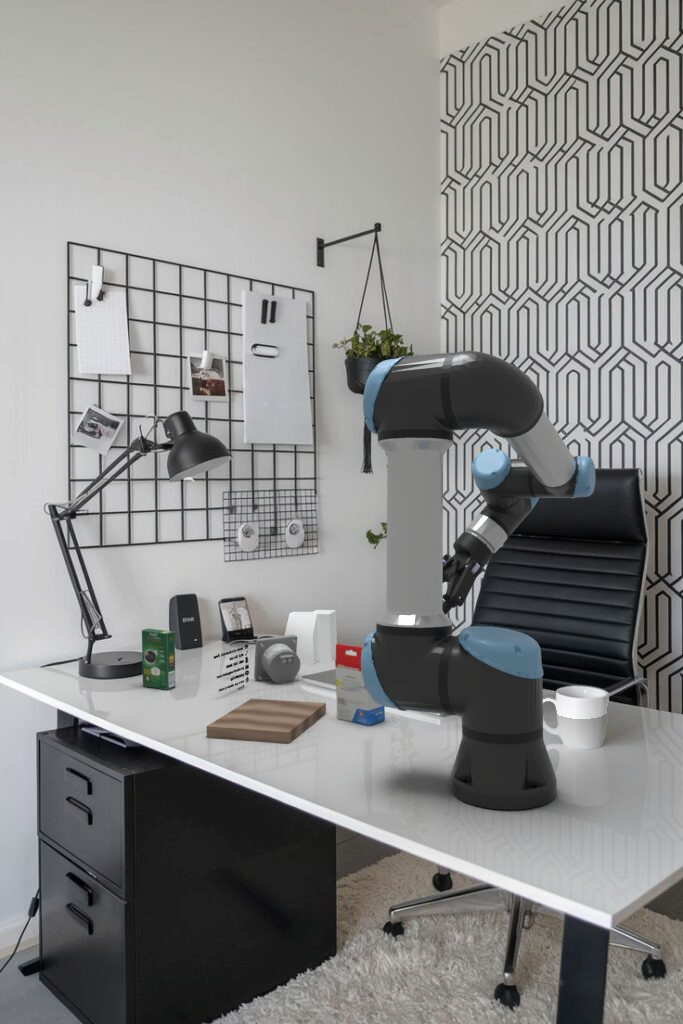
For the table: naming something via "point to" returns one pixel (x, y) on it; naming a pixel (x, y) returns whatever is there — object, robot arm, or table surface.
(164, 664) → the coffee box
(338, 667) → the ink box
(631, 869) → the table surface
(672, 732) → the table surface
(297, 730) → the walnut plate
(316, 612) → the corner bracket
